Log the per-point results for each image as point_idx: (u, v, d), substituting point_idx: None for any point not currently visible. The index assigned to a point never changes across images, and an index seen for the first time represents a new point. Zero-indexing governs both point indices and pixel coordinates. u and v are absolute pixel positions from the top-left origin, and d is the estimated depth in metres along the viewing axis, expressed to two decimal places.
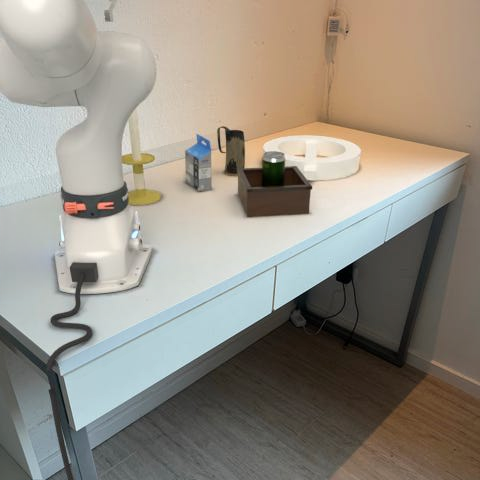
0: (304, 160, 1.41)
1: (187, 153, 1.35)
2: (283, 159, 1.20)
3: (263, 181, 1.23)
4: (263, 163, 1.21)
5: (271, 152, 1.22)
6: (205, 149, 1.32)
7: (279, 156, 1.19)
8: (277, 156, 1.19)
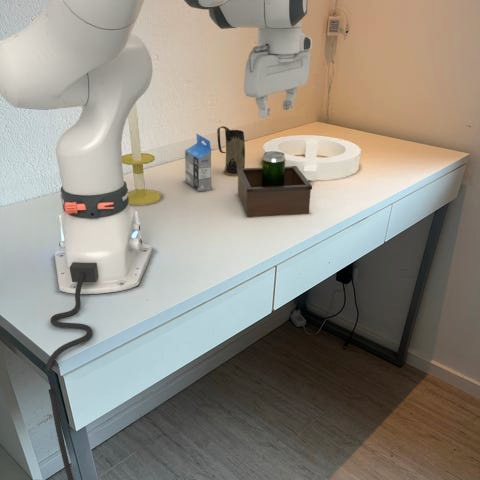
0: (304, 160, 1.41)
1: (187, 153, 1.35)
2: (283, 159, 1.20)
3: (263, 181, 1.23)
4: (263, 163, 1.21)
5: (271, 152, 1.22)
6: (205, 149, 1.32)
7: (279, 156, 1.19)
8: (277, 156, 1.19)
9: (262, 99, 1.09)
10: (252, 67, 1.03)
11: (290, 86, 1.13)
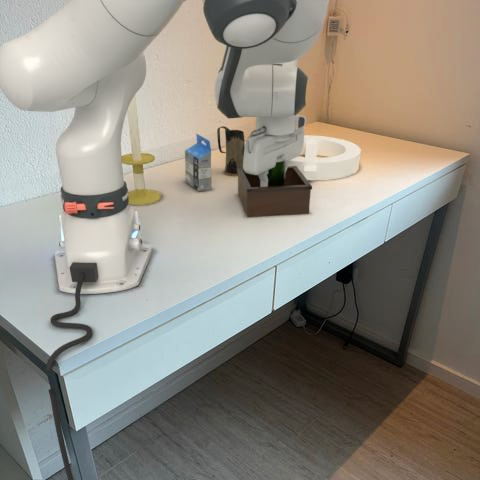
0: (304, 160, 1.41)
1: (187, 153, 1.35)
2: (283, 159, 1.20)
3: None
4: None
5: None
6: (205, 149, 1.32)
7: (279, 156, 1.19)
8: None
9: (263, 173, 1.19)
10: (250, 149, 1.12)
11: (285, 159, 1.22)
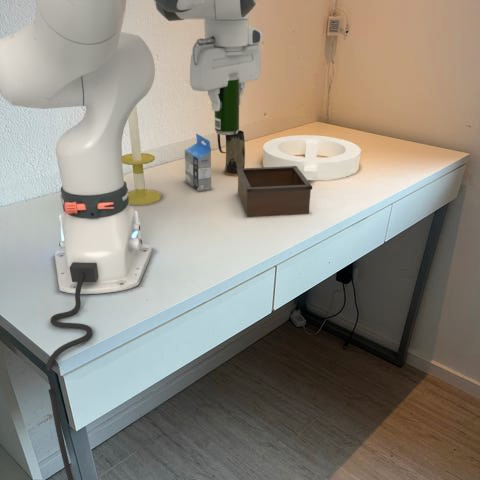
0: (304, 160, 1.41)
1: (187, 153, 1.35)
2: (236, 78, 1.09)
3: None
4: None
5: None
6: (205, 149, 1.32)
7: (232, 74, 1.08)
8: None
9: (214, 92, 1.07)
10: (196, 60, 1.01)
11: (240, 80, 1.11)
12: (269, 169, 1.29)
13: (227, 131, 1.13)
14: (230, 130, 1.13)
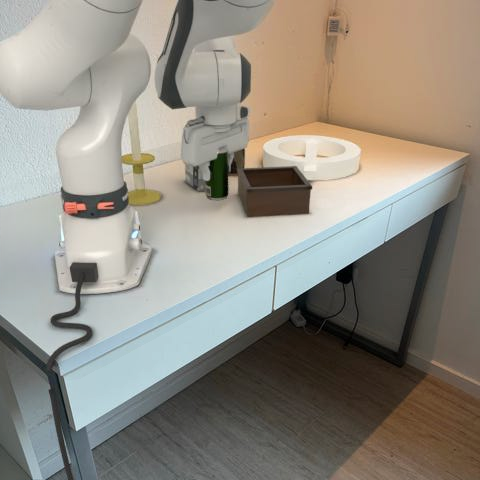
0: (304, 160, 1.41)
1: None
2: (225, 150, 1.16)
3: None
4: None
5: None
6: None
7: (221, 147, 1.16)
8: None
9: (204, 165, 1.15)
10: (187, 139, 1.08)
11: (229, 151, 1.18)
12: (269, 169, 1.29)
13: (217, 197, 1.21)
14: (220, 197, 1.21)
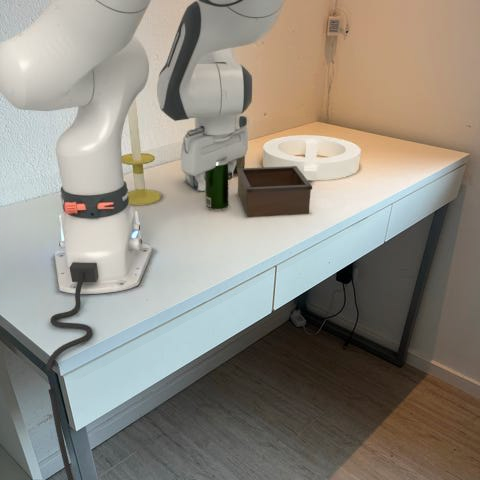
0: (304, 160, 1.41)
1: None
2: (225, 162, 1.18)
3: None
4: None
5: None
6: None
7: (221, 159, 1.17)
8: None
9: (200, 175, 1.15)
10: (187, 149, 1.10)
11: (228, 160, 1.20)
12: (269, 169, 1.29)
13: (217, 208, 1.22)
14: (220, 207, 1.22)
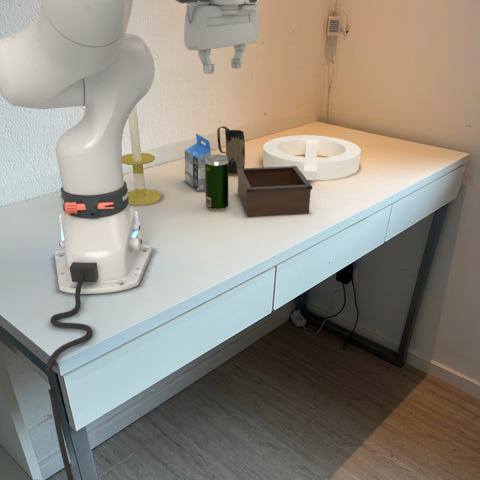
0: (304, 160, 1.41)
1: (187, 153, 1.35)
2: (225, 162, 1.18)
3: (206, 185, 1.21)
4: (205, 166, 1.19)
5: (214, 155, 1.20)
6: (205, 149, 1.32)
7: (221, 159, 1.17)
8: (219, 159, 1.17)
9: (205, 53, 1.04)
10: (191, 17, 0.98)
11: (236, 41, 1.08)
12: (269, 169, 1.29)
13: (217, 208, 1.22)
14: (220, 207, 1.22)
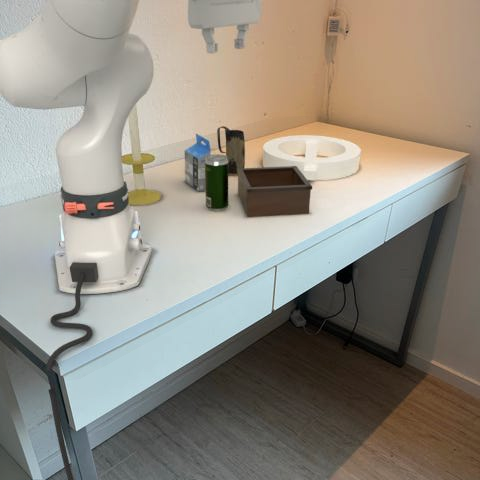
0: (304, 160, 1.41)
1: (186, 153, 1.35)
2: (225, 162, 1.18)
3: (206, 185, 1.21)
4: (205, 166, 1.19)
5: (214, 155, 1.20)
6: (204, 149, 1.32)
7: (221, 159, 1.17)
8: (219, 159, 1.17)
9: (208, 32, 1.04)
10: None
11: (239, 21, 1.08)
12: (269, 169, 1.29)
13: (217, 208, 1.22)
14: (220, 207, 1.22)
